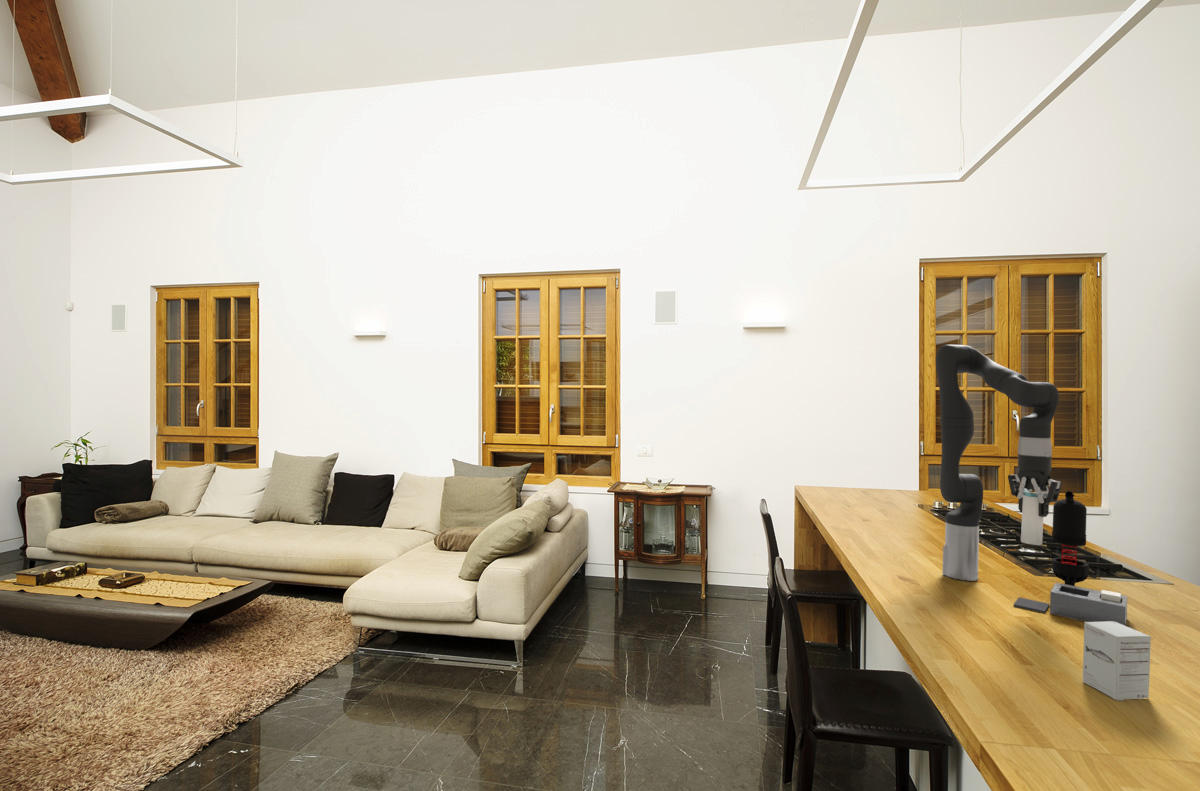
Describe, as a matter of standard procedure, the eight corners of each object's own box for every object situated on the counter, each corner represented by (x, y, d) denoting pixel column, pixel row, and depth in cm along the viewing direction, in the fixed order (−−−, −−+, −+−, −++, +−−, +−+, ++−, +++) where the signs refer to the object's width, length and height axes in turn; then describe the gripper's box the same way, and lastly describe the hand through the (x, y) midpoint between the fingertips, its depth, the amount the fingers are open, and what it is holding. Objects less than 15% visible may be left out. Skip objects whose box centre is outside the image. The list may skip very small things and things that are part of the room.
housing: (1049, 613, 157) (1050, 591, 156) (1055, 603, 164) (1055, 582, 164) (1124, 630, 146) (1125, 606, 146) (1126, 618, 154) (1127, 596, 154)
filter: (1087, 594, 173) (1090, 493, 173) (1049, 586, 179) (1051, 489, 179) (1089, 583, 183) (1091, 488, 183) (1053, 576, 189) (1055, 484, 189)
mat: (1013, 606, 162) (1013, 604, 162) (1018, 599, 168) (1018, 597, 168) (1045, 613, 157) (1045, 611, 157) (1049, 605, 163) (1049, 603, 163)
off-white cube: (1100, 612, 152) (1100, 593, 152) (1101, 608, 155) (1102, 589, 155) (1119, 616, 149) (1120, 596, 149) (1120, 612, 152) (1121, 593, 152)
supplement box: (1080, 682, 119) (1082, 621, 119) (1114, 681, 120) (1115, 620, 120) (1115, 701, 112) (1117, 636, 112) (1150, 700, 113) (1152, 635, 112)
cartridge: (1033, 545, 159) (1035, 494, 159) (1016, 541, 164) (1018, 491, 164) (1046, 545, 160) (1048, 494, 160) (1029, 540, 165) (1031, 491, 165)
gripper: (1000, 451, 168) (998, 509, 168) (1050, 456, 154) (1049, 520, 154) (1019, 450, 170) (1018, 508, 170) (1071, 456, 156) (1070, 519, 156)
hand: (1033, 514), depth 162 cm, fingers closed on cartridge, 4 cm apart
